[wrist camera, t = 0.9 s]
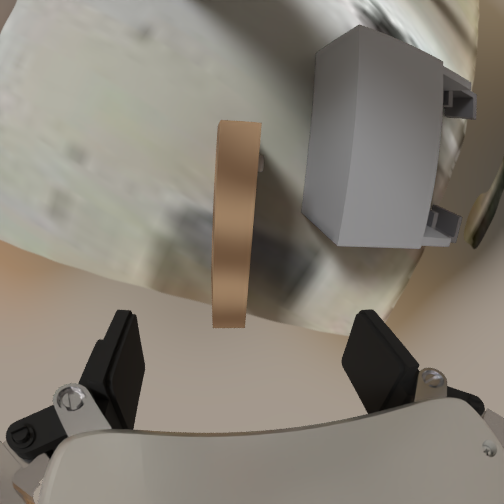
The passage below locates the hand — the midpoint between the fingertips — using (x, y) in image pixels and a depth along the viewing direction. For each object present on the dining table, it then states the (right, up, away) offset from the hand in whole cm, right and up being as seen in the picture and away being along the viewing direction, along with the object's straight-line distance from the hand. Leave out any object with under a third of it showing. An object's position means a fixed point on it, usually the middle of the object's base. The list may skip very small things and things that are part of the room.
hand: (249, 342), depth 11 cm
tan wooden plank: (-3, +9, +21) cm, 24 cm away
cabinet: (+18, +17, +21) cm, 32 cm away
